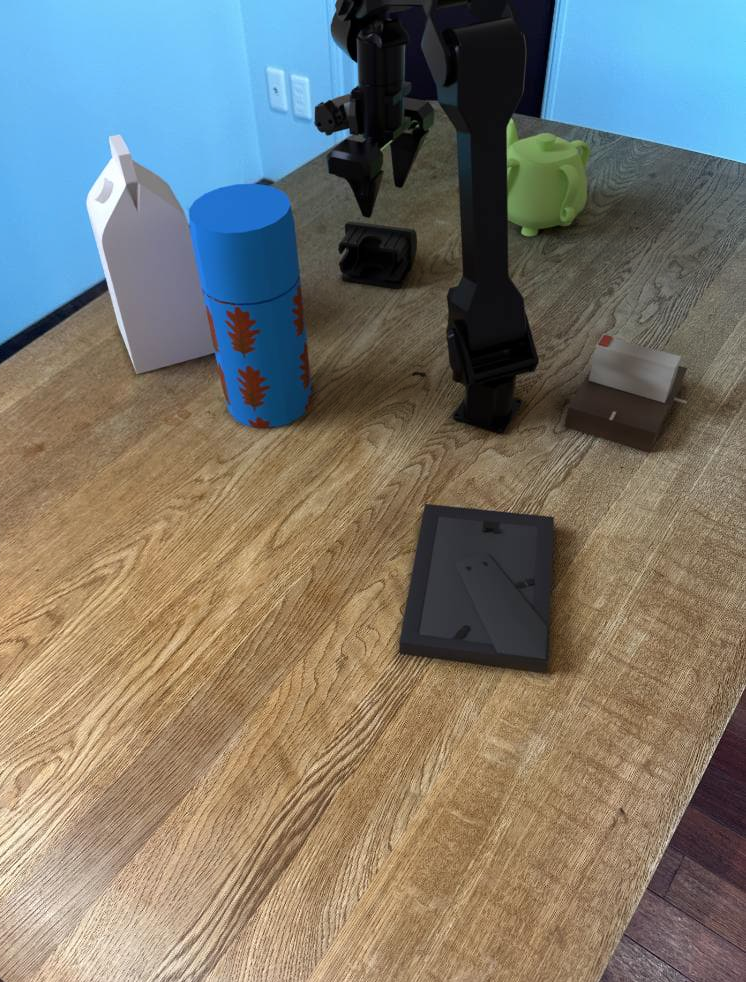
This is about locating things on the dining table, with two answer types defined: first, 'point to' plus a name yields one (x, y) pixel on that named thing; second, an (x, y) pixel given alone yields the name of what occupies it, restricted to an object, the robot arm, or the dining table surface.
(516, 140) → the teapot
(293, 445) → the dining table surface
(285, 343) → the thermos
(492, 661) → the picture frame
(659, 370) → the light gray block
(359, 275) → the end cap
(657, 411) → the dark brown pegged box
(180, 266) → the milk
